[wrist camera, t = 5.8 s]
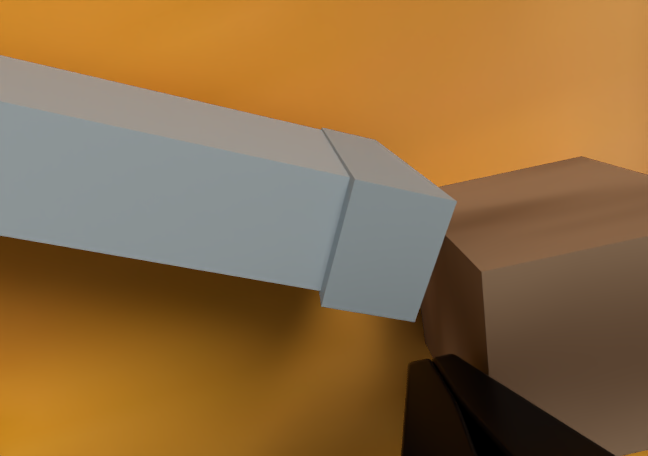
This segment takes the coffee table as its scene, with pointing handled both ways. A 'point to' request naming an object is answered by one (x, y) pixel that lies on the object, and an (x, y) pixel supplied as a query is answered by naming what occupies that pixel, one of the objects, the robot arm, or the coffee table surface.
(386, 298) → the grey block
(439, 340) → the walnut block
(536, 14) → the coffee table surface
